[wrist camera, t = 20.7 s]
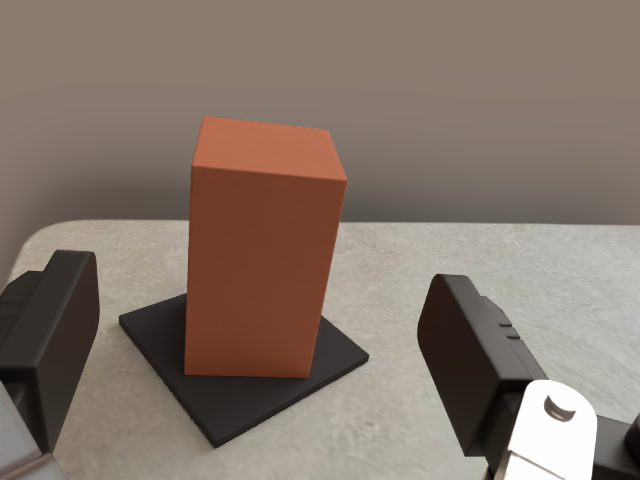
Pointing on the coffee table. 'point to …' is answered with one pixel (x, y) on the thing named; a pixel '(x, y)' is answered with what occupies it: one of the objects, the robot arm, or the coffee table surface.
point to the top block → (259, 246)
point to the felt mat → (232, 391)
